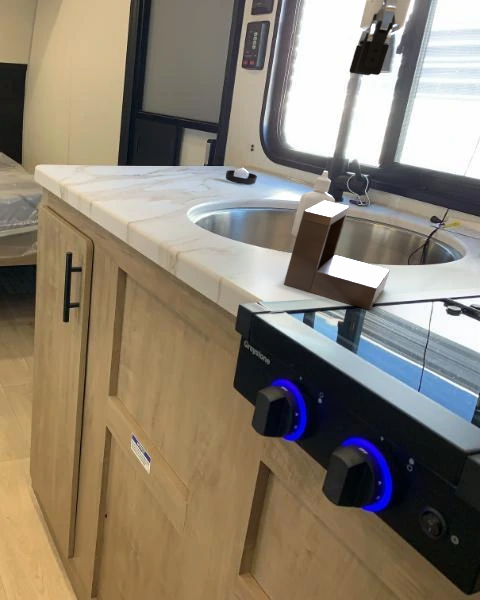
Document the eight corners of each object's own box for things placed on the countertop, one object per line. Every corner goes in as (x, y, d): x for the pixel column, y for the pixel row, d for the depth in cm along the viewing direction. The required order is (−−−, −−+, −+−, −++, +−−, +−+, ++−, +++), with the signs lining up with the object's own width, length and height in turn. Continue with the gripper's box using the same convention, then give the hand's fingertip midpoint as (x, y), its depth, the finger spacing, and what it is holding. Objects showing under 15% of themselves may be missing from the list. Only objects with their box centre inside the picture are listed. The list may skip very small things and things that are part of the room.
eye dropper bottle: (291, 232, 109) (309, 166, 104) (323, 239, 107) (343, 172, 102) (289, 237, 105) (308, 169, 100) (322, 245, 103) (343, 175, 99)
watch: (254, 183, 154) (258, 169, 153) (255, 186, 150) (258, 172, 149) (224, 178, 155) (227, 164, 154) (224, 181, 151) (227, 167, 150)
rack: (383, 289, 84) (407, 219, 80) (369, 310, 75) (395, 232, 71) (304, 267, 89) (324, 200, 85) (283, 284, 80) (303, 210, 77)
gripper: (447, -68, 75) (400, 77, 81) (419, -42, 90) (381, 77, 97) (383, -73, 76) (342, 69, 83) (366, -48, 92) (332, 70, 98)
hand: (363, 73), depth 90 cm, fingers open, 9 cm apart
